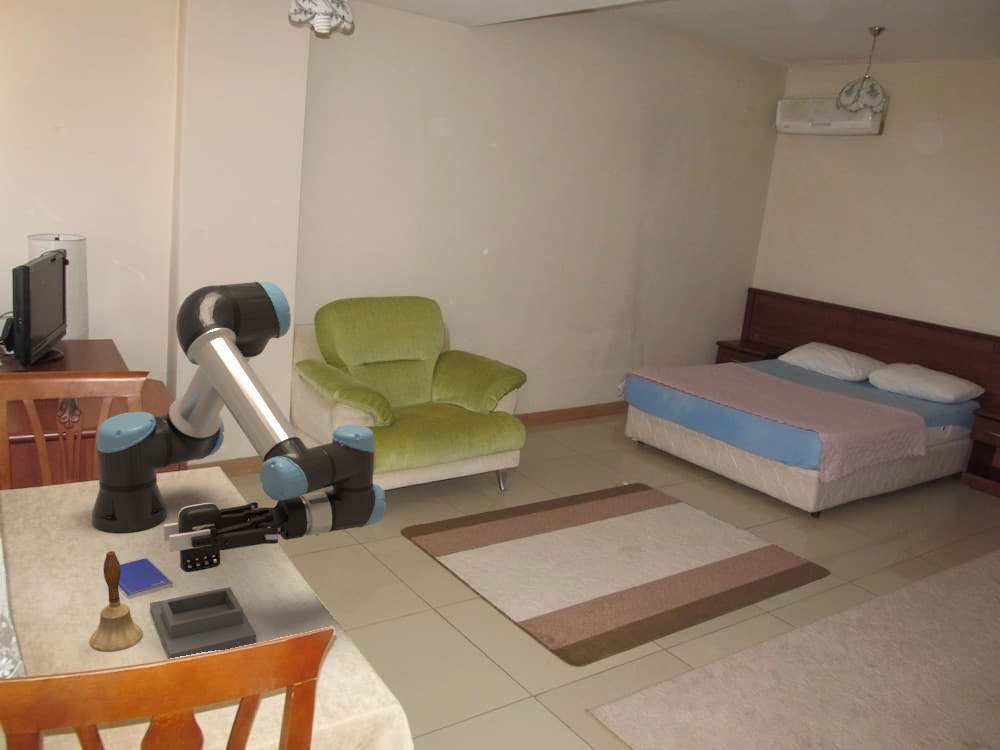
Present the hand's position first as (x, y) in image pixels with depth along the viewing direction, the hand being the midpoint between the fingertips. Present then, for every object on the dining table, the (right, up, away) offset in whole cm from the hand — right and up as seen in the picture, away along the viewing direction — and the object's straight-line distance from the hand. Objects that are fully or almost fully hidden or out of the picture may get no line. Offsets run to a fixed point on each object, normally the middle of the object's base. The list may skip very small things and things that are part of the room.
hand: (167, 538), depth 142 cm
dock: (+3, -17, +7) cm, 19 cm away
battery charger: (+4, -6, +5) cm, 9 cm away
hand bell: (-9, -18, +2) cm, 20 cm away
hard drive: (-14, -13, +21) cm, 29 cm away
